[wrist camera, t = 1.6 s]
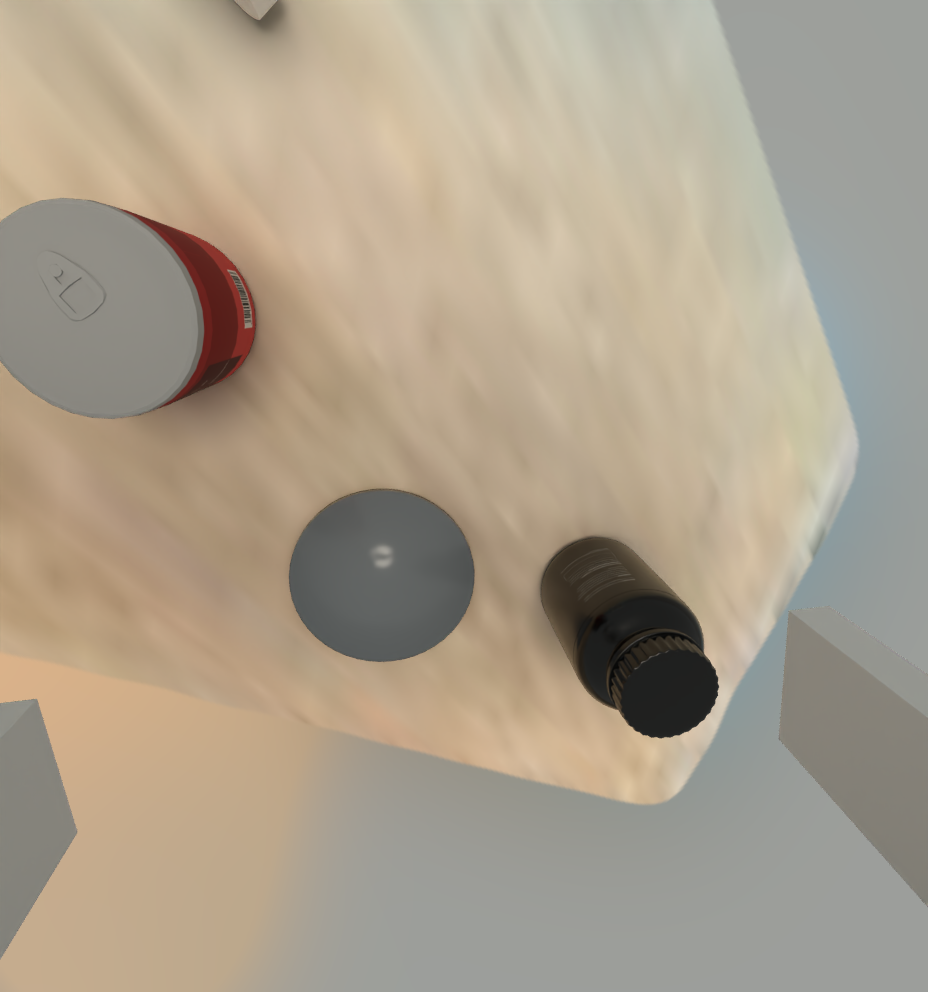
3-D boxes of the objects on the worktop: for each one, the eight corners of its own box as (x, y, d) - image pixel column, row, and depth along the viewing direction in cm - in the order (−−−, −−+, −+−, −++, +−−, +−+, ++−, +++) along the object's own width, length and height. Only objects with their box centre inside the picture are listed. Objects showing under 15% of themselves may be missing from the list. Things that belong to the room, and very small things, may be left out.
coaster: (303, 665, 40) (301, 670, 40) (278, 497, 37) (276, 500, 37) (477, 647, 41) (478, 652, 41) (468, 481, 38) (469, 484, 38)
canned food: (153, 198, 32) (36, 145, 22) (289, 300, 34) (242, 297, 24) (74, 323, 34) (-72, 330, 23) (210, 414, 36) (132, 459, 25)
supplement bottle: (530, 629, 41) (582, 753, 30) (549, 529, 39) (611, 620, 28) (632, 638, 42) (720, 761, 31) (655, 540, 40) (757, 633, 29)
